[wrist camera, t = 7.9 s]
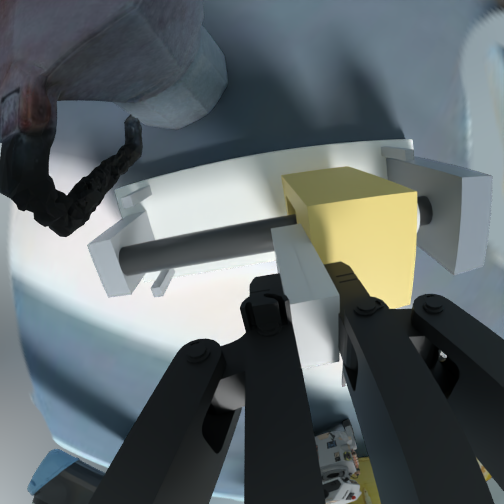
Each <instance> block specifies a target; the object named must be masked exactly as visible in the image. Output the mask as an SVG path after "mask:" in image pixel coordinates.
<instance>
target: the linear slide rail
mask: <svg viewBox="0 0 504 504" xmlns="http://www.w3.org/2000/svg"><path fill="white" fill-rule="evenodd" d="M345 166H349V167H352V168H355V169H358V170H361V171H364V172H367V173H370V174H373V175H376V176H378V177H381V178H384V179H387V180H389V181H392V182H395V183H397V184H400V185H402V186H405V187H408V188H410V189H413V190H415V191H417V239H416V245H417V246H418V247H419V248H421V249H422V250H423V251H425V252H426V253H427V254H428V255H430V256H431V257H432V258H433V259H435V260H436V261H437V262H438V263H439V264H441V265H442V266H443V267H444V268H445V269H447V270H448V271H449V272H450V273H451V274H453V275H454V276H455V275H458V274H461V273H464V272H467V271H470V270H474V269H477V268H480V267H483V266H484V261H485V255H486V249H487V242H488V235H489V226H490V216H491V202H492V176H491V175H488V174H484V173H481V172H478V171H474V170H471V169H467V168H463V167H459V166H456V165H452V164H447V163H443V162H439V161H434V160H430V159H425V158H420V157H415V156H414V149H413V141H412V140H411V139H392V140H372V141H357V142H345V143H334V144H325V145H316V146H308V147H300V148H293V149H286V150H279V151H273V152H266V153H260V154H255V155H249V156H244V157H238V158H233V159H228V160H223V161H218V162H214V163H209V164H205V165H200V166H196V167H192V168H187V169H183V170H179V171H175V172H171V173H168V174H164V175H160V176H156V177H153V178H149V179H146V180H142V181H139V182H135V183H132V184H129V185H125V186H122V187H119V188H117V189H115V190H114V191H115V195H116V198H117V202H118V206H119V209H120V212H121V216H122V219H121V220H120V221H118V222H117V223H116V224H114V225H113V226H112V227H110V228H109V229H108V230H106V231H105V232H103V233H102V234H101V235H100V236H98V237H97V238H96V239H94V240H93V241H92V242H90V243H89V244H88V245H87V246H88V249H89V252H90V254H91V257H92V260H93V262H94V265H95V267H96V270H97V272H98V275H99V277H100V280H101V282H102V284H103V287H104V289H105V291H106V293H107V296H108V297H115V296H123V295H130V294H132V293H133V291H134V290H135V288H136V287H137V285H138V284H139V282H140V281H141V279H142V278H143V281H144V282H149V281H155V282H154V284H153V286H152V287H151V290H152V293H153V296H154V297H160V296H163V295H164V293H165V291H166V289H167V287H168V285H169V283H170V281H171V279H172V278H175V277H181V276H187V275H194V274H200V273H206V272H212V271H218V270H224V269H230V268H236V267H242V266H248V265H254V264H260V263H266V262H272V261H276V257H275V251H274V245H273V239H272V233H271V228H277V227H283V226H289V225H295V224H297V220H296V214H292V215H287V210H286V204H285V197H284V191H283V185H282V179H281V175H286V174H292V173H299V172H306V171H313V170H320V169H328V168H336V167H345Z"/></svg>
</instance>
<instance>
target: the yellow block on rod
mask: <svg viewBox="0 0 504 504" xmlns="http://www.w3.org/2000/svg"><path fill="white" fill-rule="evenodd" d="M281 179H282V185H283V191H284V197H285V204H286V210H287V215H292V214H296V220H297V224H301V225H302V227H303V229H304V231H305V232H306V234H307V236H308V238H309V240H310V241H311V243H312V245H313V246H314V248H315V250H316V252H317V254H318V255H319V257H320V259H321V261H322V263H323V264H329V263H334V262H339V261H341V262H343V263H345V264H347V265H349V266H350V267H351V269H352V270H353V271H354V274H356V276H357V277H358V279H359V280H360V282H361V283H362V284H363V286H364V287H365V289H366V290H367V292H368V293H369V295H370V296H371V297H376V298H379V299H381V300H383V301H384V302H385V303H386V304H387V306H388V307H389V308H390V309H395V308H399V307H403V306H406V305H410V301H411V294H412V286H413V277H414V267H415V255H416V239H417V191H415V190H413V189H410V188H408V187H405V186H402V185H400V184H397V183H395V182H392V181H389V180H387V179H384V178H381V177H378V176H376V175H373V174H370V173H367V172H364V171H361V170H358V169H355V168H352V167H349V166H345V167H336V168H328V169H320V170H313V171H306V172H299V173H292V174H286V175H281Z"/></svg>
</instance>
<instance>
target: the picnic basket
mask: <svg viewBox="0 0 504 504" xmlns="http://www.w3.org/2000/svg"><path fill="white" fill-rule="evenodd" d="M358 462H359V465H358V466H359V469H360V475H358V478H357V476H355V474H352V475H351V476H352V477H354V478H356V479H354V478H352V477H351V476H350V477H351V478H350V479H352V480H355V481H356V482H357V483H358V484H359V485H360V489H359V490H360V491H361V492H362V493H361V495H360V496H359V497H358V499H357V500H355V501H353V502H350V503H347V504H381V502H380V497H379V493H378V489H377V486H376V482H375V478H374V474H373V470H372V467H371V463H370V459H369V457H362V458H358Z"/></svg>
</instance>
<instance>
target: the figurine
mask: <svg viewBox="0 0 504 504" xmlns="http://www.w3.org/2000/svg"><path fill="white" fill-rule="evenodd" d="M342 423H343V426H344V429H345V431H346V432H341V431H333V432H328V433H325V434H322V435H318V436H316V437H315V442H316V448H317V453H318V459H319V465H320V471H321V477H322V483H323V489H324V496H325V502H326V504H347V503H350V502H353V501H355V500H357V499H358V497H359V496H360V495H361V493H362V492H361V491H360V490H359V489H360V485H359V484H358V483H357V482H356V481H355V480H352V479H350V478H351V477H352V476H351V475H352V474H355V476H357V478H358V475H360V469H359V466H358V465H359V462H358V457H357V454H356V452H355V451H353V450H355V449H357V446H356V442H355V437H354V432H353V428H352V426H351V423H350V420H349V419H348V420H345V421H343V422H342ZM352 451H353V452H352ZM350 476H351V477H350ZM352 478H354V477H352ZM354 479H356V478H354Z"/></svg>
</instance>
